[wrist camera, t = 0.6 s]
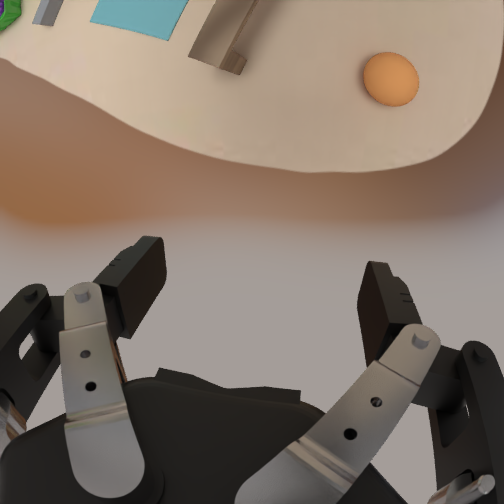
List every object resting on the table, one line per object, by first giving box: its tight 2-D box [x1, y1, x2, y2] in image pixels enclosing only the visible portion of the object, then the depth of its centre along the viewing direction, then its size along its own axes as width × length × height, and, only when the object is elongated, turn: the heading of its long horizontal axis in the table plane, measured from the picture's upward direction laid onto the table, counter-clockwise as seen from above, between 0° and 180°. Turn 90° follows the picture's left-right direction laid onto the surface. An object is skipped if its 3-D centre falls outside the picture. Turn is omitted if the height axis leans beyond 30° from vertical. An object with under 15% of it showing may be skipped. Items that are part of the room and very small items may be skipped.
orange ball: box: [364, 52, 419, 106], centre depth 26 cm, size 6×6×6 cm
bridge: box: [188, 0, 258, 75], centre depth 23 cm, size 3×15×10 cm, turn 155°
